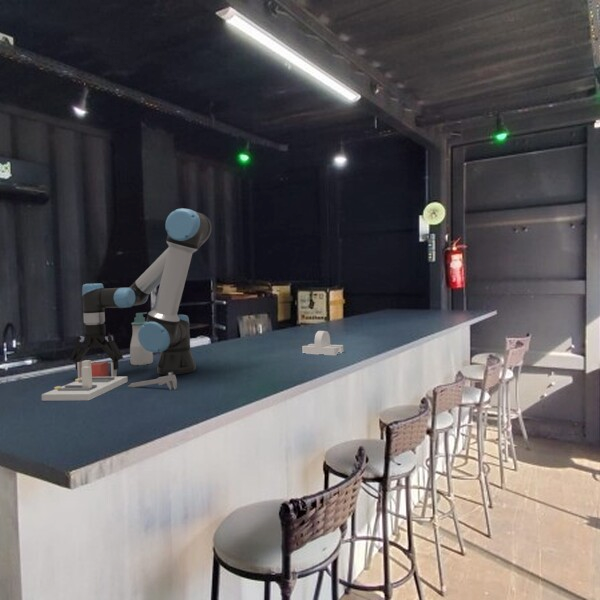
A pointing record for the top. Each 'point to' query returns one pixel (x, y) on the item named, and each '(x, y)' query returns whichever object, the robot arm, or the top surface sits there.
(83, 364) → the block
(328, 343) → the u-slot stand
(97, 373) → the brick-red cube
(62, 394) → the panel
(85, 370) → the post
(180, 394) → the top surface
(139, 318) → the soap bottle
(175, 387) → the caliper
